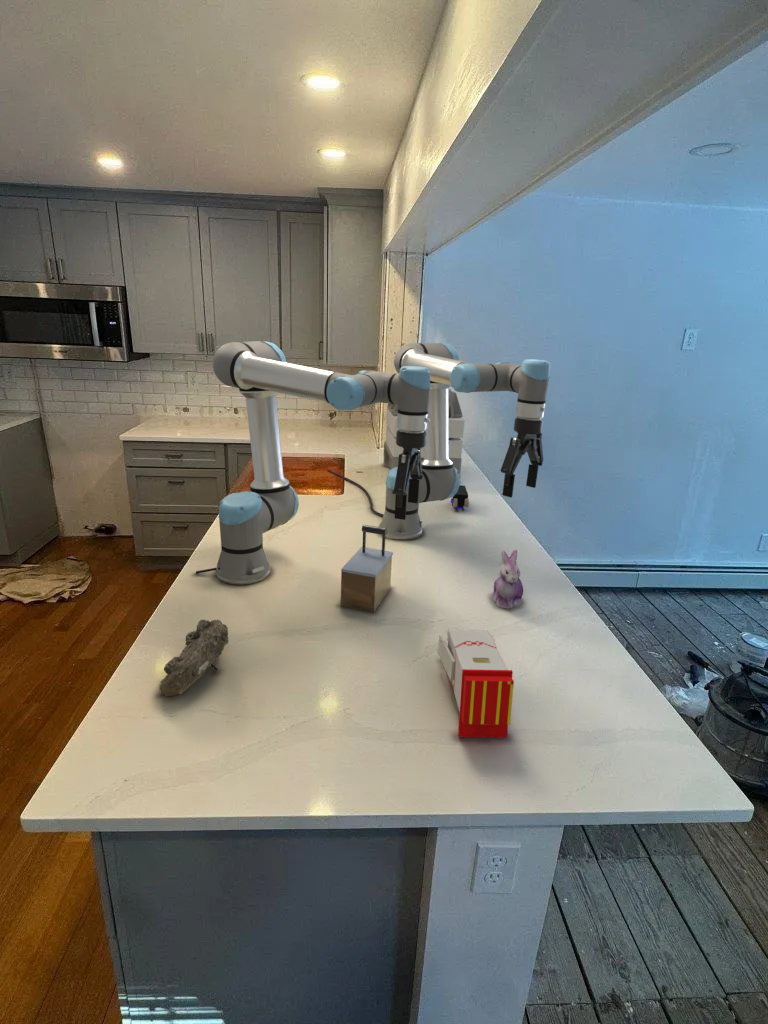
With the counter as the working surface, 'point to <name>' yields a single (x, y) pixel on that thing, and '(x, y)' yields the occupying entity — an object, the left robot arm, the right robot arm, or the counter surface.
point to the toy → (478, 682)
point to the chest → (365, 589)
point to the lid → (368, 556)
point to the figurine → (508, 583)
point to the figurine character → (460, 498)
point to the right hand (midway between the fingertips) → (519, 491)
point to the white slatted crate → (394, 450)
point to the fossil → (195, 656)
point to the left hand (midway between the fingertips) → (406, 510)
